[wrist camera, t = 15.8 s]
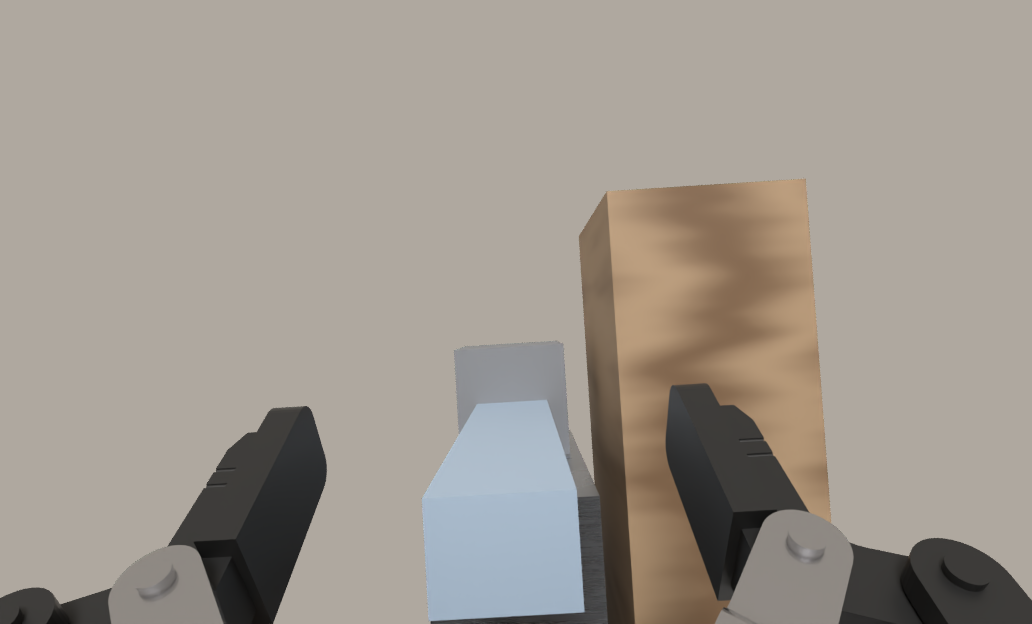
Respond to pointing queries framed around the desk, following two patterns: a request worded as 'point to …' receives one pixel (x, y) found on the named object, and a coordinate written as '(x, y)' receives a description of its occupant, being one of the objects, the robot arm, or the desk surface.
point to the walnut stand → (693, 366)
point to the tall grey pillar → (592, 557)
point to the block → (505, 491)
